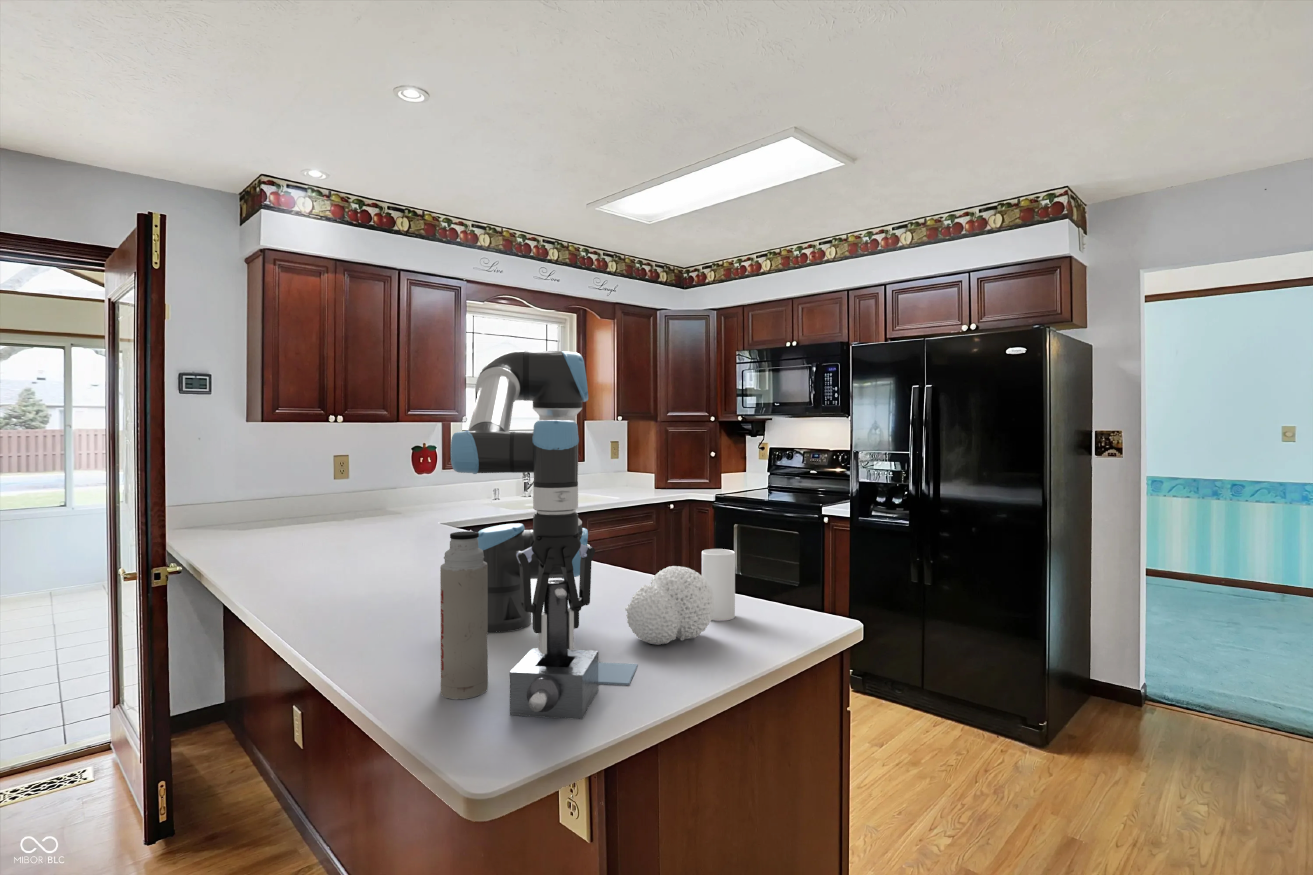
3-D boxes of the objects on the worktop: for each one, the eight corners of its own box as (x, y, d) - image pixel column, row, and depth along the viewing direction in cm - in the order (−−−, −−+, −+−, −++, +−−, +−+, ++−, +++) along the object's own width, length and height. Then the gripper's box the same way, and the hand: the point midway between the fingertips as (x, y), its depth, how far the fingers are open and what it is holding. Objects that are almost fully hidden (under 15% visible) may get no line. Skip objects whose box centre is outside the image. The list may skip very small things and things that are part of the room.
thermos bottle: (435, 700, 114) (435, 536, 113) (446, 682, 122) (446, 529, 121) (483, 698, 114) (483, 535, 114) (491, 681, 122) (490, 528, 122)
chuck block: (498, 728, 103) (498, 683, 103) (532, 686, 119) (532, 647, 119) (574, 733, 101) (574, 687, 101) (598, 690, 118) (598, 650, 118)
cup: (733, 621, 161) (733, 555, 161) (699, 619, 162) (699, 554, 162) (736, 612, 169) (736, 549, 169) (703, 610, 170) (703, 548, 170)
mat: (574, 682, 122) (574, 680, 122) (587, 663, 132) (587, 661, 132) (629, 685, 120) (629, 682, 120) (637, 665, 130) (637, 663, 130)
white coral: (683, 584, 162) (680, 539, 151) (733, 632, 151) (733, 587, 140) (616, 631, 153) (608, 587, 143) (664, 685, 142) (659, 641, 132)
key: (539, 671, 115) (538, 579, 115) (561, 668, 117) (561, 577, 117) (550, 685, 109) (550, 588, 109) (573, 681, 111) (573, 585, 110)
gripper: (510, 516, 106) (510, 663, 106) (611, 511, 113) (611, 649, 113) (500, 511, 112) (500, 649, 113) (596, 506, 119) (596, 636, 120)
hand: (555, 649), depth 113 cm, fingers closed on key, 4 cm apart
